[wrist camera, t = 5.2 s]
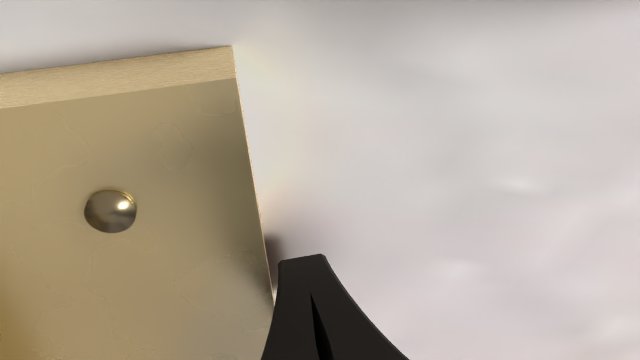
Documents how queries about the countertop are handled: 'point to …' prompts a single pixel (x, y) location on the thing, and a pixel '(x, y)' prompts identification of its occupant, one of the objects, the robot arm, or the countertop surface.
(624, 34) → the countertop surface
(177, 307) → the studded wooden plate
